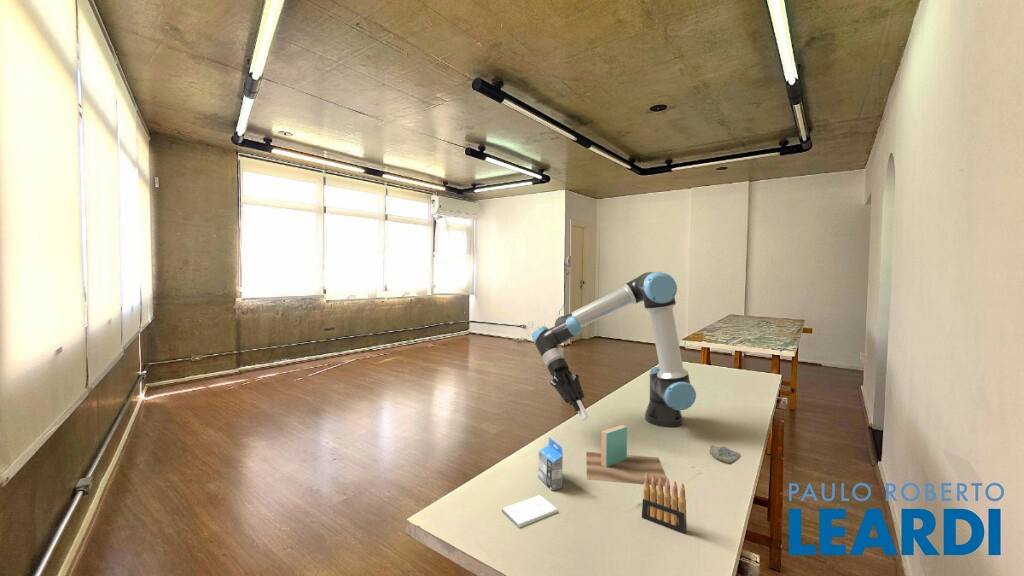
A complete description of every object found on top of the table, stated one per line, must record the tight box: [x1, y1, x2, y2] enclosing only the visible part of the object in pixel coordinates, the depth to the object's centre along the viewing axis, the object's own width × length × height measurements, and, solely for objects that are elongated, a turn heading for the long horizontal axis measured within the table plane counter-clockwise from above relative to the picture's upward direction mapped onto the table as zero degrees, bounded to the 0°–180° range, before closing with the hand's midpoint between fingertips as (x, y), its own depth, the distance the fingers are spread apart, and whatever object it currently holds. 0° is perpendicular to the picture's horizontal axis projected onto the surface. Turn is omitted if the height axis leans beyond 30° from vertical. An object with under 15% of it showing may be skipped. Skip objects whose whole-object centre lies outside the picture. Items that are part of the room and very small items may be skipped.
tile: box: [600, 424, 628, 467], centre depth 133 cm, size 2×10×11 cm, turn 125°
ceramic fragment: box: [708, 444, 741, 465], centre depth 140 cm, size 11×3×10 cm
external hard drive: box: [501, 495, 558, 529], centre depth 107 cm, size 2×8×12 cm
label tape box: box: [537, 436, 564, 491], centre depth 121 cm, size 9×4×12 cm, turn 23°
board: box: [586, 451, 668, 487], centre depth 129 cm, size 19×24×1 cm
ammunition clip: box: [641, 472, 688, 535], centre depth 101 cm, size 11×2×12 cm, turn 52°
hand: (585, 418), depth 142 cm, fingers closed
